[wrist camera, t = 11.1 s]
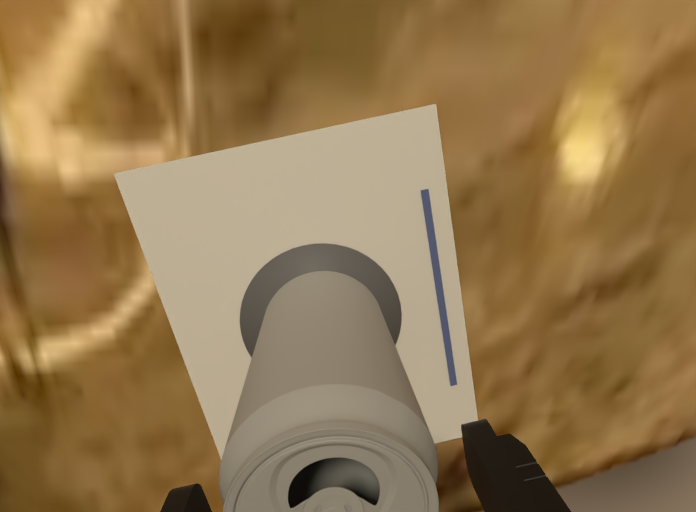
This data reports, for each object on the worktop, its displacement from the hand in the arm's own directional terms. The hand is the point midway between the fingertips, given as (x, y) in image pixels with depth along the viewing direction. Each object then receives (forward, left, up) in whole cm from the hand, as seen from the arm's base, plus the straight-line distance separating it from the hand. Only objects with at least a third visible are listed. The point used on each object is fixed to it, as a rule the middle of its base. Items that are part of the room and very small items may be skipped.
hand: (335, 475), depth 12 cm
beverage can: (0, 0, -11) cm, 11 cm away
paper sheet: (0, 0, -11) cm, 11 cm away
